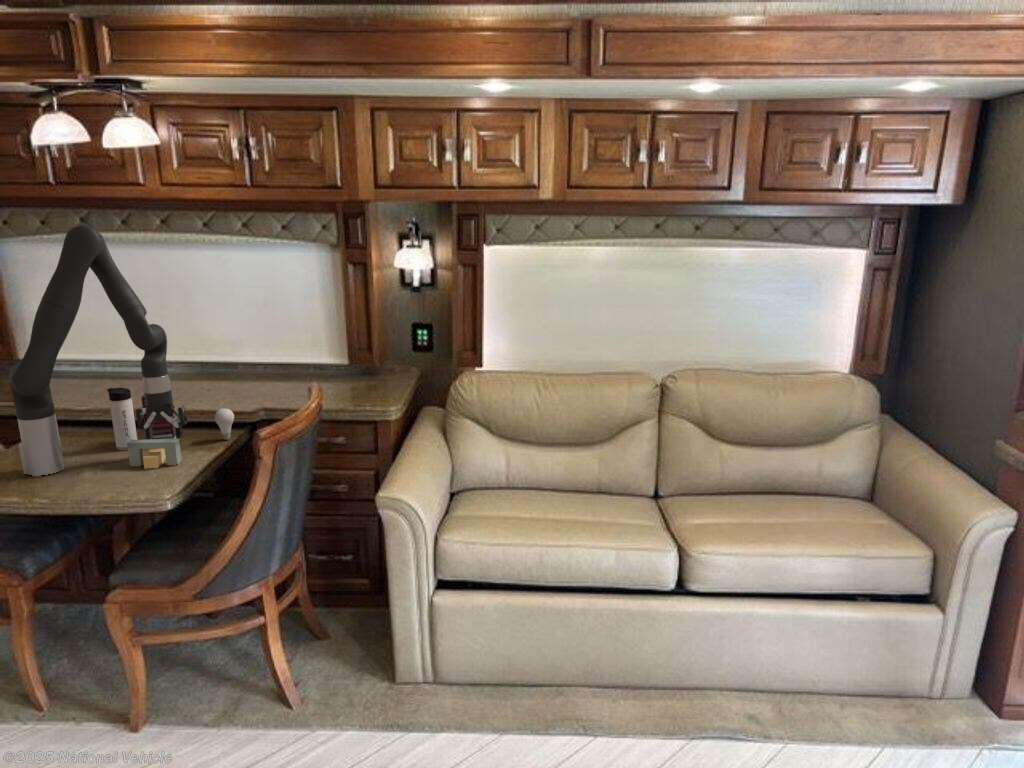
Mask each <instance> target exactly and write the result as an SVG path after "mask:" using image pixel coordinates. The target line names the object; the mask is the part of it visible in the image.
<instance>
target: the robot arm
mask: <svg viewBox="0 0 1024 768" xmlns="http://www.w3.org/2000/svg"><path fill="white" fill-rule="evenodd" d="M65 234H66V235H65V237H64V240H63V244H62V248H61V252H60V254H59V255H60V256H59V260H58V262H57V266H56V268H55V271H54V273H53V274H52V276H51V278H50V280H49V282H48V284H47V286H46V289H45V290H44V293H43V295H42V298H41V299H40V302H39V304H38V306H37V309H36V312H35V315H34V320H33V323H32V329H31V332H30V333H31V334H30V339H29V343H28V346H27V349H26V351H25V353H24V355H23V357H22V359H21V360H20V362H17V363H16V364H14V365H13V367H12V368H11V369H10V371H9V375H8V376H9V377H8V378H9V385H10V390H11V396H12V399H13V405H14V409H15V413H16V414H15V415H16V419H17V424H18V430H19V434H20V440H21V442H20V443H19V444H18V449H19V455H20V460H21V465H22V471H23V475H24V474H29V475H32V476H31V477H42V476H41V475H46V476H49V475H48V474H51V475H54V474H53V473H55V474H56V472H58V473H60V472H62V471H63V470H65V461H64V456H63V450H62V444H61V439H60V434H59V425H58V420H57V414H56V411H55V410H56V408H55V404H54V400H53V397H52V392H51V385H50V384H51V382H52V381H51V380H52V376H53V372H54V368H55V365H56V361H57V359H58V355H59V353H60V351H61V349H62V347H63V345H64V343H65V341H66V339H67V337H68V334H69V332H70V330H71V328H72V326H73V325H74V321H75V319H76V317H77V315H78V313H79V312H78V311H79V309H80V306H81V302H82V297H83V293H84V292H83V291H84V285H85V284H84V283H85V279H86V277H87V274H88V271H89V269H90V270H91V271H92V272H93V273H94V275H95V277H96V278H97V279H98V281H99V283H100V284H101V287H102V288H103V290H104V292H105V294H106V296H107V298H108V300H109V301H110V303H111V304H112V306H113V308H114V310H116V312H117V313H118V315H119V317H120V318H121V320H122V321H123V324H124V326H125V328H126V331H127V334H128V336H129V338H130V340H131V342H132V343H133V344H134V346H135V347H137V348H138V349H139V350H142V351H144V352H143V353H144V355H143V357H142V358H141V360H140V367H141V369H140V370H141V375H142V390H143V395H145V401H146V406H147V407H146V408H143V406H140V407H138V408H136V410H135V413H136V425H137V427H138V428H142V429H144V432H145V437H146V439H147V438H148V439H153V431H152V427H151V425H152V423H153V422H154V420H155V421H167V420H168V421H169V422H170V423H172V424H173V425H174V426H175V427H176V428H175V432H176V438H175V439H179V440H180V439H181V438H182V436H183V427H184V426H185V425H186V424H187V423H189V422H188V417H187V413H186V407H185V406H184V405H180V406H175V404H174V399H173V393H172V392H173V391H172V386H171V385H172V384H171V380H170V376H169V371H168V364H167V351H168V338H167V333H166V331H165V329H164V328H163V327H162V326H160V325H158V324H155V323H150V324H149V323H148V320H147V318H146V316H147V312H148V311H147V309H146V307H145V306H144V304H143V302H142V301H141V300H140V298H139V297H138V295H137V294H136V292H135V291H134V290H133V288H132V287H131V285H130V284H129V282H128V281H127V280H126V279H125V276H124V275H123V274H122V272H121V271H120V269H119V267H118V266H117V265H116V263H115V260H114V259H113V257H112V255H111V253H110V251H109V248H108V245H107V243H106V241H105V238H104V236H103V235H102V234H101V233H100V232H99V231H98V230H96V229H95V228H92V226H91V227H90V226H88V225H83V224H82V225H75V226H74V227H72V228H70V230H68V231H67V232H66V233H65ZM145 412H146V413H147V414H148V415H149V416H150V417H149V419H148V420H147V422H146V423H145V419H144V414H145ZM175 412H176V414H177V415H178V416H179V419H178V416H177V415H176V414H175ZM173 413H174V414H173ZM61 470H62V471H61ZM59 471H60V472H59ZM29 475H28V476H29Z"/></svg>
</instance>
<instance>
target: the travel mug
mask: <svg viewBox="0 0 1024 768" xmlns="http://www.w3.org/2000/svg"><path fill="white" fill-rule="evenodd" d="M106 391H107V392H108V399H109V408H110V415H111V420H112V427H113V435H114V440H115V447H116V450H117V451H128V447H127V443H128V442H129V441H131V440H138V433H137V427H136V419H135V413H134V406H133V398H132V393H131V389H129V388H126V387H115V388H113V387H109V388H107V390H106Z"/></svg>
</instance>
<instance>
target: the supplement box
mask: <svg viewBox="0 0 1024 768" xmlns="http://www.w3.org/2000/svg"><path fill="white" fill-rule="evenodd" d="M140 399H141V405H142V406H141V407H143V408H146V407H147V406H146V401H145V395H144V394H143V395H142V396H141V397H140ZM173 414H174V415H175V412H174V413H173ZM149 417H150V416H149V415H148V414H147V413H146V412H145V414H144V420H145V423H146V422H147V420H148V419H149ZM151 427H152V431H153V439H176V432H175V428H176V427H175V426H174V425H173V424H172V423H170V422H169V421H168V420H167V421H155V420H154V422H153V423H152V425H151ZM147 439H148V438H147V437H146V440H147Z"/></svg>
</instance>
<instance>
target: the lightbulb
mask: <svg viewBox="0 0 1024 768" xmlns="http://www.w3.org/2000/svg"><path fill="white" fill-rule="evenodd" d="M214 421H215V423H216V424H217V425H218V427H219V429H220V433H221V436H222V439H224V440H226V441H228V440H230V439H231V435H232V434H231V432H232V425H233V423H234V421H235V414H234V412H233V411H232V410H231V409H229V408H220V409H218V410H217V411H216V412H215V414H214Z"/></svg>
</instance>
